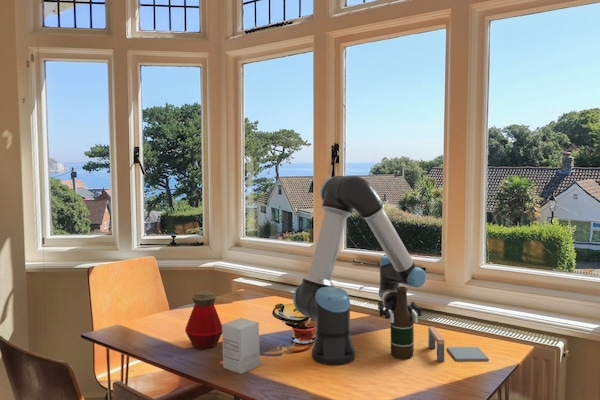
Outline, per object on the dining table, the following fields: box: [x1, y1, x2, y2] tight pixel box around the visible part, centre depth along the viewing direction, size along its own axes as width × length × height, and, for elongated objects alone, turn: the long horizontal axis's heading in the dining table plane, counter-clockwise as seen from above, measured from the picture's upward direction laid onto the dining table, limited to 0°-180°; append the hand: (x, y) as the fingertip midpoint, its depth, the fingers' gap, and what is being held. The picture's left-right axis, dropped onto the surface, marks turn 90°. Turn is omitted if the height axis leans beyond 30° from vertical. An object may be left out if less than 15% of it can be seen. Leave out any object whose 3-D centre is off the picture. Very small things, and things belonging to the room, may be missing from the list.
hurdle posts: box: [427, 331, 445, 363], centre depth 172 cm, size 2×14×6 cm, turn 179°
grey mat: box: [446, 346, 490, 362], centre depth 171 cm, size 11×11×1 cm
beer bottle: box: [390, 286, 415, 360], centre depth 171 cm, size 8×8×24 cm
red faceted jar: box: [185, 290, 223, 350], centre depth 185 cm, size 16×14×20 cm
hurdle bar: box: [427, 326, 445, 345], centre depth 172 cm, size 2×14×2 cm, turn 178°
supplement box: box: [221, 317, 261, 375], centre depth 163 cm, size 9×9×15 cm
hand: (404, 318), depth 166 cm, fingers closed on beer bottle, 7 cm apart
